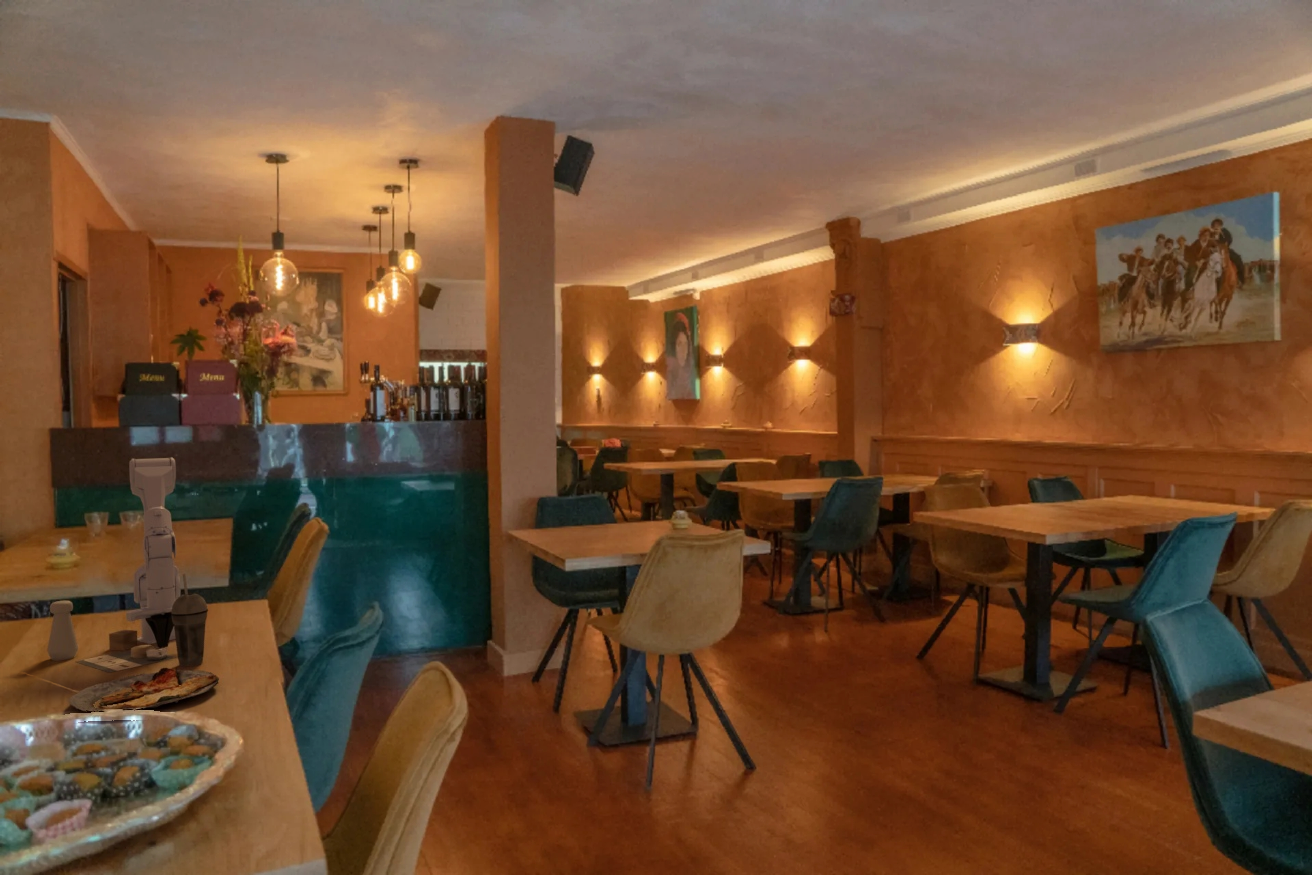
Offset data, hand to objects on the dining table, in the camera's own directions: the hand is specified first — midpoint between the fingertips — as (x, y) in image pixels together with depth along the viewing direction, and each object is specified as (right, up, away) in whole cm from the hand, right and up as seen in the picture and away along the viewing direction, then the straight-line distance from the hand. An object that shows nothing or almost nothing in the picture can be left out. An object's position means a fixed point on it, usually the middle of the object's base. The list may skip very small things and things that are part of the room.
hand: (162, 646), depth 209 cm
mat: (-5, -2, -6) cm, 8 cm away
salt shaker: (-20, -2, -4) cm, 21 cm away
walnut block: (-12, -2, +5) cm, 12 cm away
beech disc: (-3, -1, -4) cm, 5 cm away
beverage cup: (+12, -2, -11) cm, 16 cm away
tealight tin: (+2, -1, -6) cm, 7 cm away
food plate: (+15, -3, -34) cm, 37 cm away
